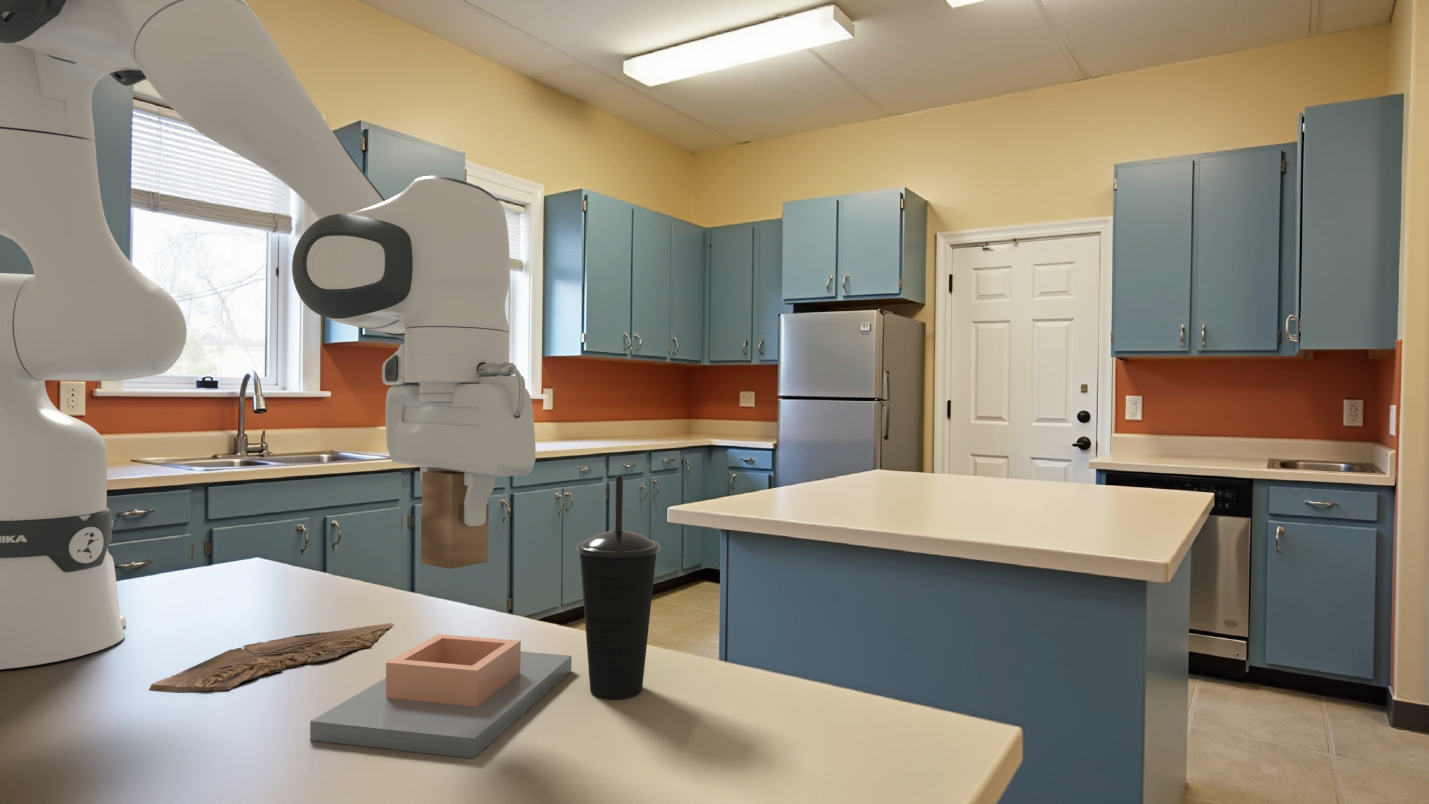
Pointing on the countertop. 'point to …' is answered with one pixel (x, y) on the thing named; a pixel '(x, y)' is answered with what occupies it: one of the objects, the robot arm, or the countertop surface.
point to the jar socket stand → (445, 697)
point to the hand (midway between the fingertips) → (455, 521)
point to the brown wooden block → (449, 523)
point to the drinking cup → (617, 605)
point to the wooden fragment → (269, 658)
